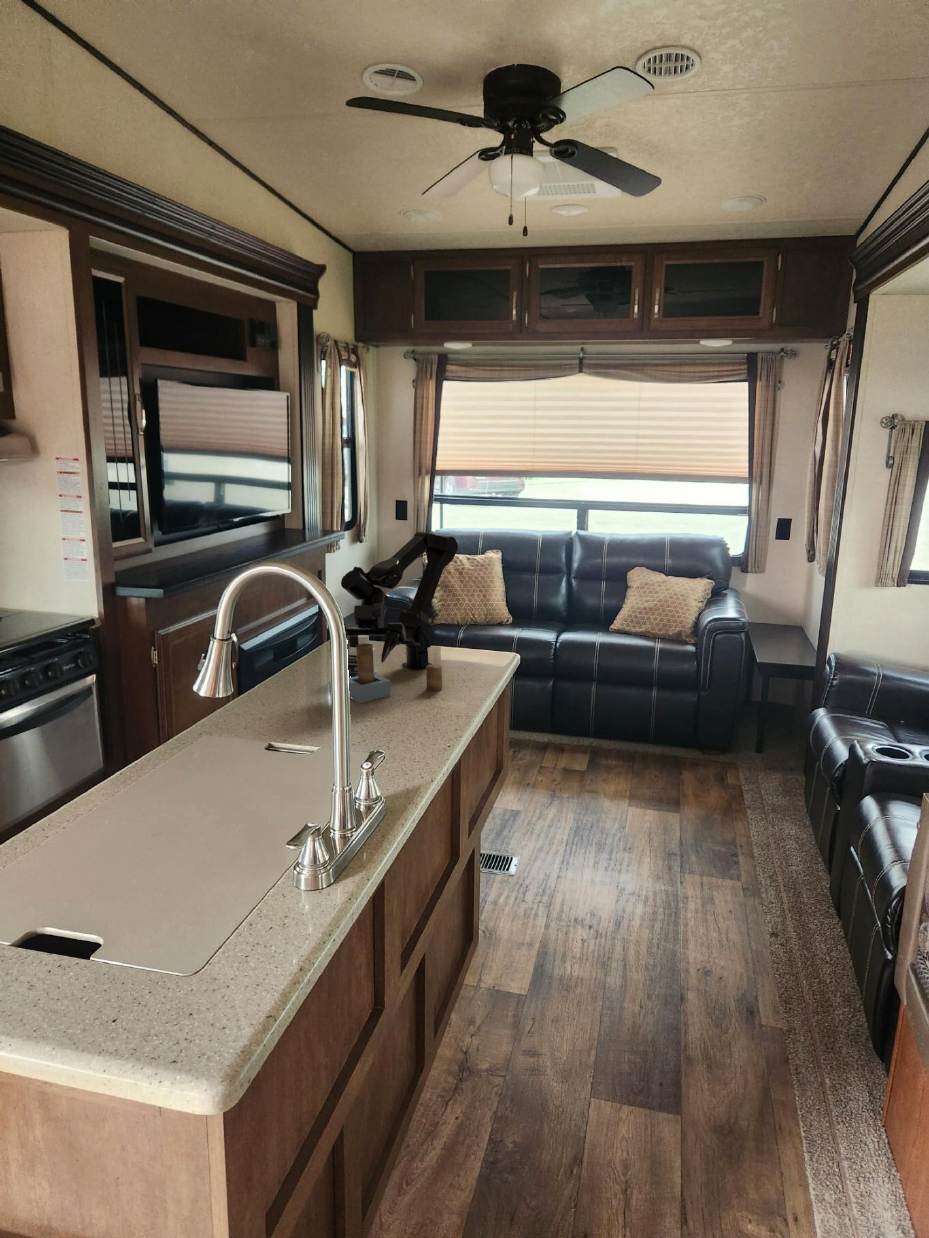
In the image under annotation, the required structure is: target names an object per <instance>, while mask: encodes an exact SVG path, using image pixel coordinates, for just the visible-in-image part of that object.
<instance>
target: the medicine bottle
mask: <svg viewBox="0 0 929 1238" xmlns="http://www.w3.org/2000/svg"><path fill="white" fill-rule="evenodd" d="M369 638H370V636H366V635H350V639H349V642H350V649H349V658H348V670H349V678H350V676H351V677H355V676H358V665H357V645H359V644H370V639H369ZM376 658H377V657H376V648H375V647H373V664H374V674H376V673H377V660H376ZM375 672H376V673H375Z"/></svg>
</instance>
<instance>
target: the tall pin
mask: <svg viewBox="0 0 929 1238" xmlns="http://www.w3.org/2000/svg"><path fill="white" fill-rule="evenodd" d="M373 648H374V647H373V644H372V643H369V644H359V645H357V665H358V683H359V684H361V685H364V684H368V683H373V682H374V674H375V673H374V664H373Z"/></svg>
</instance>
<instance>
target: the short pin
mask: <svg viewBox="0 0 929 1238" xmlns="http://www.w3.org/2000/svg"><path fill="white" fill-rule="evenodd" d="M442 667H443V666H442V665H440V664H433V665H428V666H426V667H425V671H426V673H425V675H426V676H425V677H426V680H425V681H426V691H428V692H433V691H434V692H441V691H442V690H443V673H442V672H443V671H442V669H443V668H442Z"/></svg>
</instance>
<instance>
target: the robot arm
mask: <svg viewBox="0 0 929 1238" xmlns="http://www.w3.org/2000/svg"><path fill="white" fill-rule="evenodd" d="M458 549H459V544H458V541H457V540H456V538H455V537H453V536H449V535H438V534H435V533H434V534H433V533H432V532H430V531H429V532H427V531H418V532H416V533H414V535H413V537H412V538H411V539H410V540H409V541H408V542H406V544H404V545H403V546H402V547H401V548H399V550H398V551H397V552H396V553H394V555H392V556H391V557H389V559H385V560H382V561H380V562H378V563H376V564H374V565H373V566H372V567H371V568H370V569H369V571H367V572H365V571H364V570H363V568H361V567H360V566H354V567H353V569H351V570H350V571H348V572H347V573H345V575H343V576H342V578H341V581H340V585H341V587H342V589H344V590H345V591H346V592H347V593H348V594H349V595H350V596H352V597H353V598H354V599H355V600H358V601H360V600H361V601H360V603H361V604H359V605H354V606H353V607H354V609H353V619H355V621H354V623H355V625H357V627H349V625H348V623H347V622H346V621H345V622H344V625H345V631H346V635H347V640H348V644H347V649H348V658H349V649H350V642H349V639H350V635H366V636H369V637H371V636H373V637H378V636H379V637H384V642H383V647H382V651H381V659H380V661H381V663H384V662H385V661H386V659H387V658H388V656H390V654H391V652H392V651H393V650H394V649H395V648H396V646H400V645H403V646H404V645H405V650H406V651H405V652H406V653H405V654H406V655H405V656H406V662H402V666H403V667H406V668H408V669H411V670H413V671H417V670H420V669H424V668H425V669H426V666H428V665H434V664H433V663H431V662H429V649H428V648H431V646H434V643H435V637H434V635H432V633H431V632H430V631H429V626H430V623H429V618H428V613H429V610H430V607H431V605H432V602H433V599H434V596H435V594H436V591H437V588H438V585H439V582H440V580H441V577H442V574H443V571H444V569H445V568H446V567H447V566H448V565H449V564H451V562H453V560H454V558H455V556H456V554H457V552H458ZM424 552H425V556H426V557H425V558H426V561H427V562H426V565H425V568H424V570H423V574H422V576H421V577H420V581H419V584H418V586H417V589H416V593H415V595H414V597H413V601H412V602H411V606H410V608H409V609H408V610H406V611H404V610H403V611H401V612H400V613H399V617H398V620H397V622H388V623H387V625H386V627H381V624H382V621H383V616H384V615H383V613H384V603H385V602H388V601H390V600H389V599H390V598H389V596H388V595H387V594H386V592H385V591H383V590H382V589H381V588H383V589H388V590H389V589H391V590H392V589H395V588H396V587H397V586H398V584H399V583H400V582H401V580H403V576H404V572H405V570H406V569H407V568H409V566H410V565H412V564H413V562H415V561H416V560H417V559H418V558H419V557H420V556H421V555H422V554H423V553H424Z"/></svg>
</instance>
